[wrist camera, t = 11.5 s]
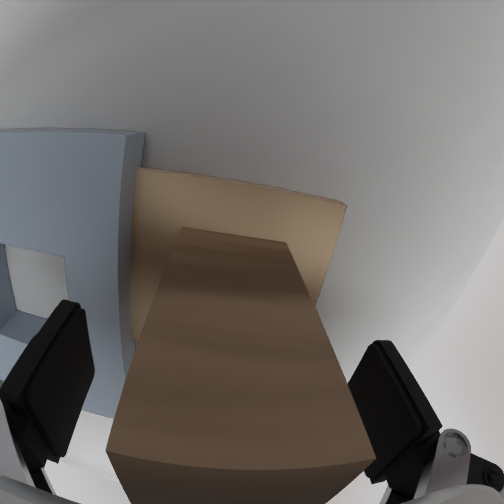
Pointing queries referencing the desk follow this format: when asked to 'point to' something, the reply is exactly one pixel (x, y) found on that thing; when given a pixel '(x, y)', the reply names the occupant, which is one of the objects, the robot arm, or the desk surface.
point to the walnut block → (235, 385)
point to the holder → (73, 239)
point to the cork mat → (223, 226)
